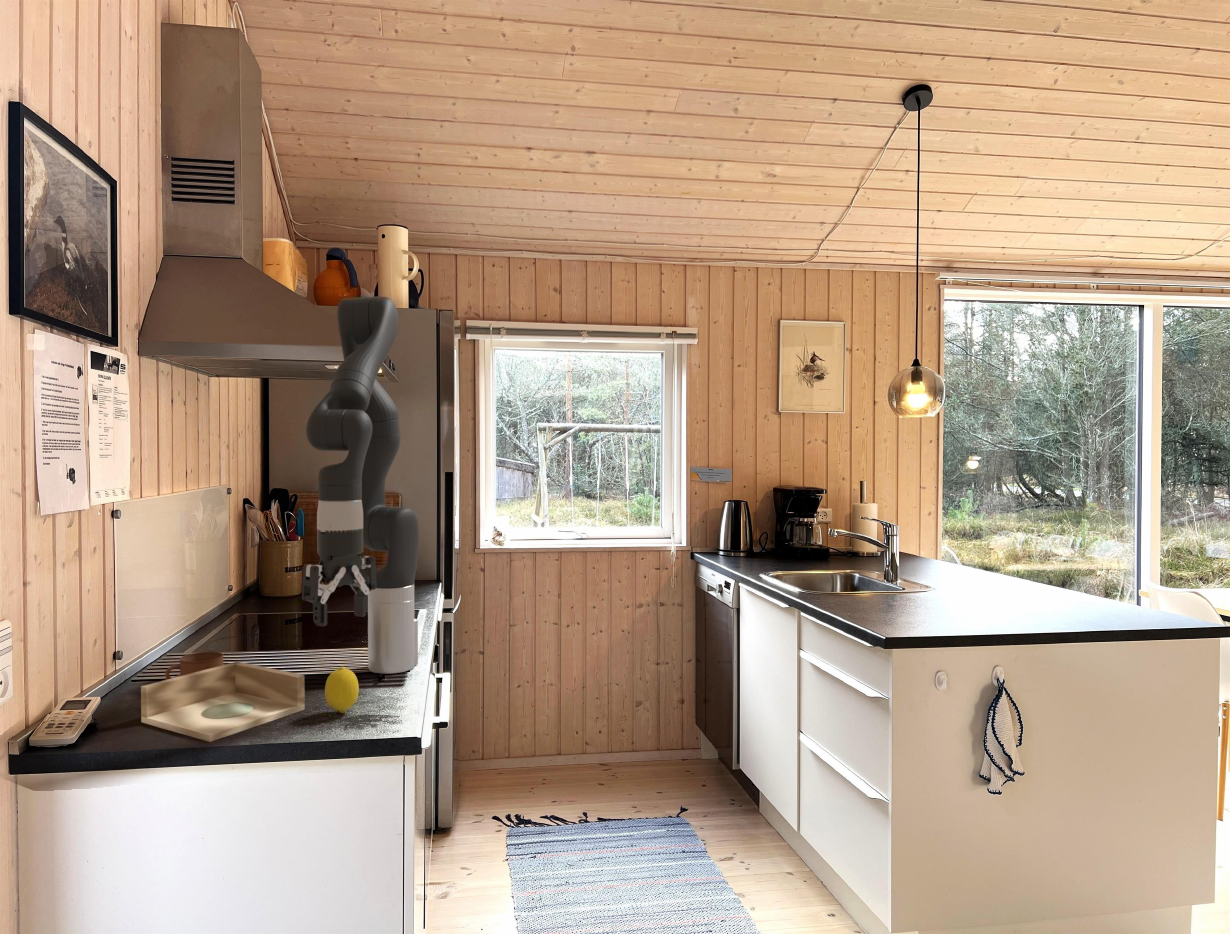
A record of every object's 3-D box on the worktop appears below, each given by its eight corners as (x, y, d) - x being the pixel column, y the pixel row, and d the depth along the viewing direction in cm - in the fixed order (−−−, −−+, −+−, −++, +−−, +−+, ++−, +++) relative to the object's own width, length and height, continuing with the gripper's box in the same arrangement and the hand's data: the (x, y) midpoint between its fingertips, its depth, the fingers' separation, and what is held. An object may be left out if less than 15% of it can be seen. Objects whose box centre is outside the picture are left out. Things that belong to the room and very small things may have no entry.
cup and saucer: (192, 702, 149) (191, 668, 149) (152, 692, 155) (151, 659, 155) (250, 685, 160) (250, 653, 160) (210, 676, 166) (210, 645, 165)
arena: (237, 693, 154) (237, 661, 154) (304, 709, 145) (304, 675, 145) (141, 722, 138) (140, 686, 138) (210, 741, 129) (209, 703, 129)
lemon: (358, 716, 141) (358, 669, 141) (324, 719, 140) (323, 672, 140) (359, 706, 147) (358, 661, 146) (325, 709, 145) (325, 663, 145)
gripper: (356, 521, 150) (357, 611, 151) (290, 528, 138) (291, 626, 138) (387, 524, 147) (387, 615, 147) (322, 531, 134) (323, 631, 135)
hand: (340, 620), depth 143 cm, fingers open, 8 cm apart
